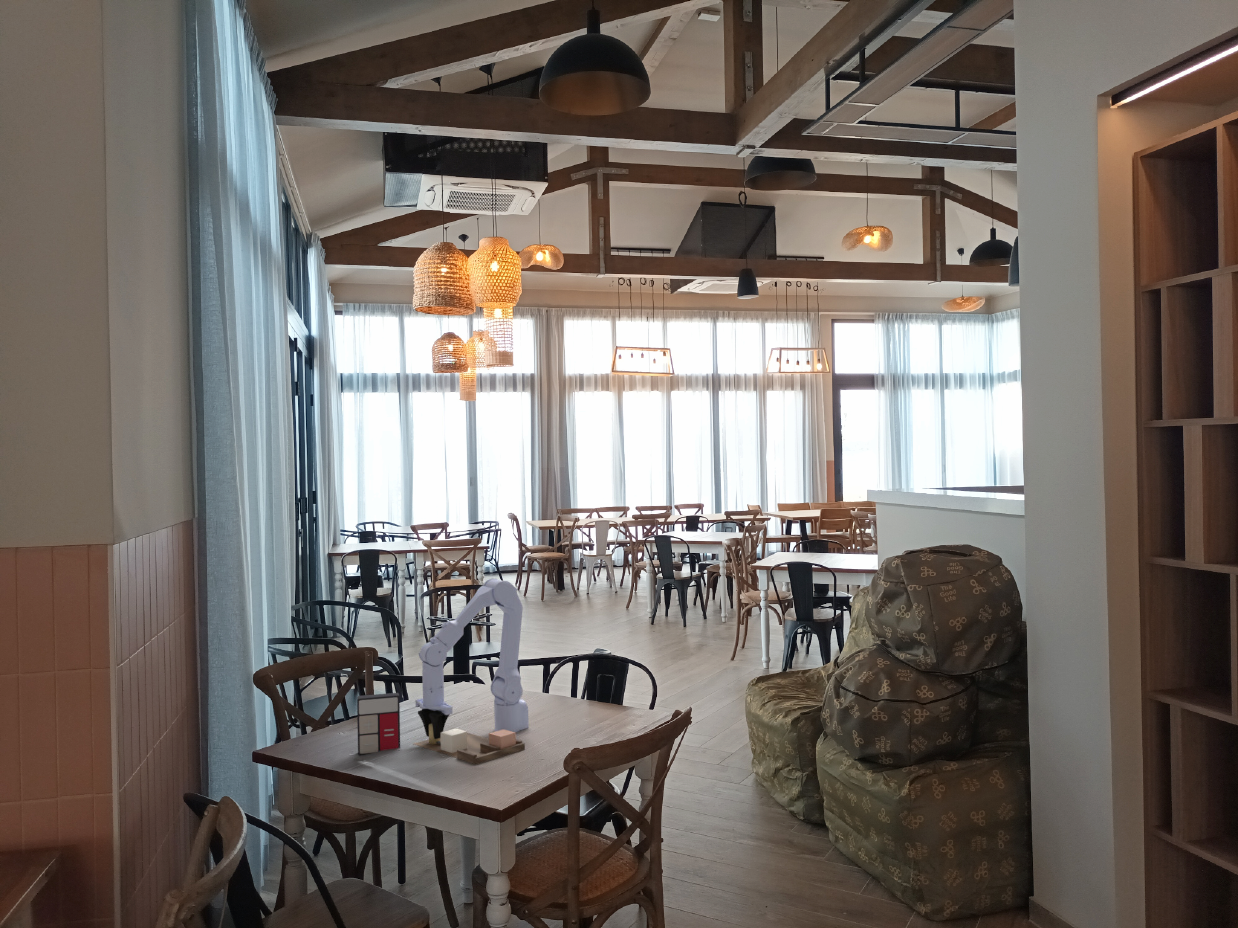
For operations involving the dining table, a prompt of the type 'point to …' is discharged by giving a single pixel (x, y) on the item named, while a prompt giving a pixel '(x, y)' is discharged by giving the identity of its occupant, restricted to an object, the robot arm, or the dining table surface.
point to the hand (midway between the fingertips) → (434, 736)
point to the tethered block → (450, 739)
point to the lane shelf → (476, 749)
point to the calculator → (378, 722)
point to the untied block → (502, 738)
